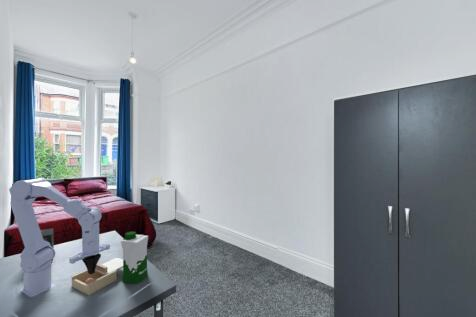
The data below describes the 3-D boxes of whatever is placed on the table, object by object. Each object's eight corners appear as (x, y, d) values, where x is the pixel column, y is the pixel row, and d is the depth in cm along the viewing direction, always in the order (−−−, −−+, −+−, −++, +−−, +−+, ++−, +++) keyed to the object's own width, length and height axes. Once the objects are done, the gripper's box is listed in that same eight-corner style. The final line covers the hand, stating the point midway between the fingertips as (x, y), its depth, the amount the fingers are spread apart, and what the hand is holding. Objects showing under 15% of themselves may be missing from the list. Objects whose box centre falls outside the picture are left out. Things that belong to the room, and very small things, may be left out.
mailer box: (71, 287, 87) (71, 276, 87) (99, 274, 96) (99, 264, 96) (88, 296, 81) (88, 284, 81) (116, 281, 91) (116, 270, 91)
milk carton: (133, 272, 97) (132, 229, 97) (151, 275, 96) (150, 230, 95) (118, 284, 89) (118, 236, 88) (138, 287, 87) (137, 238, 87)
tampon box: (30, 260, 110) (29, 231, 109) (54, 254, 115) (53, 227, 115) (26, 269, 101) (25, 238, 100) (52, 263, 106) (51, 233, 106)
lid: (93, 269, 93) (92, 263, 93) (116, 258, 102) (116, 253, 102) (106, 275, 88) (106, 269, 88) (130, 263, 98) (130, 257, 98)
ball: (83, 286, 86) (83, 279, 86) (91, 282, 89) (91, 275, 89) (87, 288, 85) (87, 281, 85) (95, 284, 88) (95, 277, 88)
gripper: (76, 248, 79) (76, 285, 79) (114, 235, 92) (114, 267, 92) (66, 245, 82) (66, 280, 83) (104, 232, 95) (104, 263, 95)
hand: (91, 273), depth 88 cm, fingers closed
